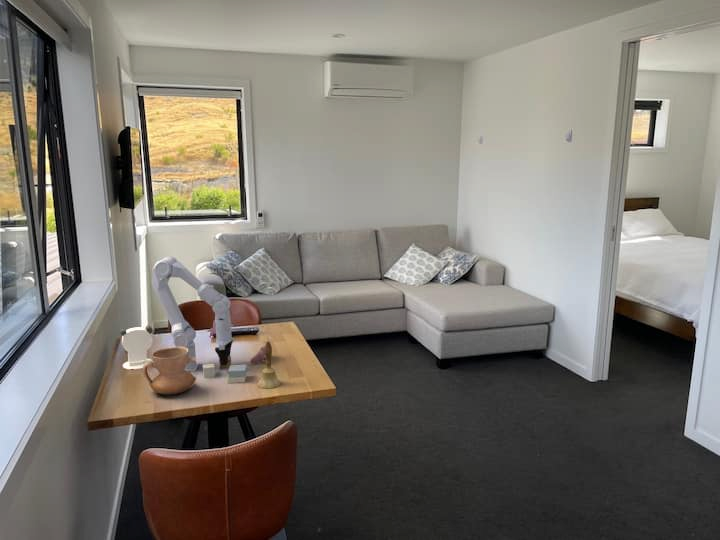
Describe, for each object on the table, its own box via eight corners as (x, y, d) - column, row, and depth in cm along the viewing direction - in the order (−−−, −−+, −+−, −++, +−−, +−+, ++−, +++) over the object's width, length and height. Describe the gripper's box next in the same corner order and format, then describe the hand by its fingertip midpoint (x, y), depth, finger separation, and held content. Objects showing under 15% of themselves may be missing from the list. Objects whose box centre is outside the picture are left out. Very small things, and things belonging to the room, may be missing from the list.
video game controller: (258, 368, 214) (265, 354, 212) (249, 362, 215) (255, 348, 213) (267, 359, 224) (274, 345, 222) (258, 354, 224) (265, 340, 222)
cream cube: (204, 378, 201) (203, 368, 200) (203, 374, 204) (202, 364, 203) (215, 377, 202) (214, 366, 201) (214, 373, 206) (213, 363, 205)
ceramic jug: (200, 380, 199) (197, 343, 196) (196, 395, 185) (192, 356, 182) (149, 385, 196) (145, 347, 193) (141, 401, 182) (136, 361, 179)
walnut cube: (219, 369, 209) (219, 359, 208) (221, 365, 213) (220, 356, 212) (230, 369, 210) (229, 359, 209) (231, 365, 214) (230, 355, 213)
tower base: (227, 384, 196) (227, 377, 196) (230, 377, 202) (229, 371, 201) (244, 383, 197) (244, 377, 196) (246, 377, 203) (245, 370, 202)
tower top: (228, 377, 196) (228, 371, 195) (230, 371, 201) (230, 365, 201) (245, 376, 196) (244, 370, 196) (246, 370, 202) (246, 364, 202)
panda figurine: (153, 357, 223) (150, 322, 220) (157, 365, 213) (153, 329, 210) (121, 362, 218) (118, 326, 215) (124, 371, 208) (120, 334, 205)
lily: (238, 337, 251) (231, 318, 253) (234, 335, 240) (227, 315, 242) (213, 347, 250) (206, 327, 251) (208, 345, 238) (201, 325, 240)
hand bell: (266, 378, 200) (264, 337, 197) (285, 381, 197) (283, 340, 194) (252, 386, 193) (250, 344, 190) (272, 390, 189) (270, 347, 186)
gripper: (231, 333, 202) (233, 367, 204) (236, 322, 216) (238, 354, 218) (212, 334, 201) (214, 368, 203) (218, 323, 215) (220, 355, 218)
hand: (225, 361), depth 211 cm, fingers open, 7 cm apart
